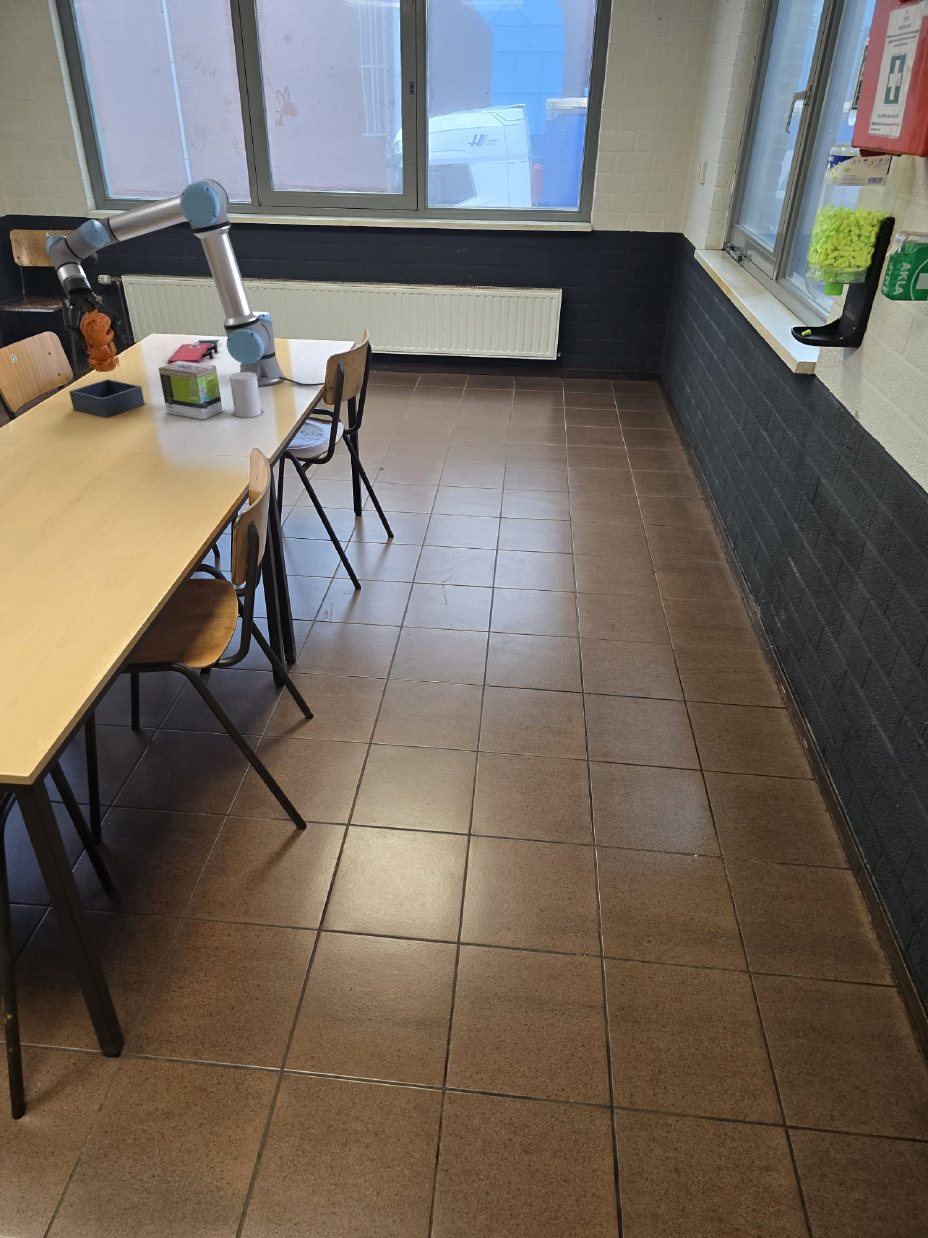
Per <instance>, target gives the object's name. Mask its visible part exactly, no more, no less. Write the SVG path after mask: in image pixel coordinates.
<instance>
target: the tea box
mask: <svg viewBox="0 0 928 1238" xmlns="http://www.w3.org/2000/svg"><path fill="white" fill-rule="evenodd" d="M158 373H159V379H160V383H161V389H162V395H163V399H164V400H163V401H164V406H165V410H166V413H167V414H171V415H177V416H183V417H188V418H193V419H198V420H199V419H200V420H206V419H209V418H211V417H214V416H215V415H218V414H219V413H222V412H223V406H222V396H221V391H220V384H219V378H218V371H217V366H216V365H213V364H207V363H200V362H199V363H192V362H185V361H177V362H174V363H168V364H166V365H162V366H160V367H158Z"/></svg>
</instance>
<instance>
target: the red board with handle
mask: <svg viewBox="0 0 928 1238" xmlns="http://www.w3.org/2000/svg"><path fill="white" fill-rule="evenodd" d="M219 342H220V339H199V340H198V341H195V342H193V343H182V344H181V345H180V346H179V347H178V349H176V351H175V352H174V353H173V354H172V355H171V356H170V357H169V359H168V360H167V363H168V364H171V363H174V362H177V361H185V362H192V363H199V364H200V361H201V360H202V359H203V358H206V357H209V360H213V359H214V355H213V353H214V354H217V353H218V351H219V349H218V343H219ZM212 345H213V346H212Z"/></svg>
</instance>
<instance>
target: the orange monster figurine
mask: <svg viewBox="0 0 928 1238" xmlns="http://www.w3.org/2000/svg"><path fill="white" fill-rule="evenodd" d="M110 323H111V320H110V318H109V317H108V316H106V315H105V314H103V313H98V310H97V309H96V310H94V311H90V312H89V311H85V314H84V315H83V316H82V317H81V321H80V324H79V325H80V326H79V327H80V329H81V332H82V334H83V336H84V338H85V341H86V343H87V345H88V350H87V351H85V352H86V354H88V355H89V357H88V358H87V364H89V368H91V367H92V368H93V369H94V370H95V371H96V372H99V373H107V372H111V371H115V369H116V368H117V367H119V366H120V365H121V364H119V363H120V360H119V357H118V356H116V354H117V349H116V346H115V343H114V342H113V340H114V339H113V338H114V331H113V329H112V328H111V327H110V326H111V325H110ZM108 345H109V346H108Z"/></svg>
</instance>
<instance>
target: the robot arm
mask: <svg viewBox="0 0 928 1238" xmlns="http://www.w3.org/2000/svg"><path fill="white" fill-rule="evenodd" d="M230 202H231V201H230V196H229V192H228V191H227V189H226V188H225V185H223V184H222V183H221V182H220V181H217V180H215V179H213V178H203V179H200V180H197V181H193V182H191V183H190V184H188V185H187V186H186V187H185V188H183V190H182V192H181V193H179V194H176V195H172V196H170V197H167V198H164V199H160V200H157V201H154V202H151V203H148V204H144V205H142V206H139V207H136V208H132V209H129V210H126V211H123V212H119V213H117V214H114V215H111V216H107V217H104V218H100V219H97V220H96V219H89V220H88V221H85V222H83V223H82V224H81V225H80V226H79V227H78V228H77V229H75V230H74V231H72V232H71V233H70V234H69V235H68V236H66V235H63V234H55V235H54V236H49V237H48V238H47V239H46V241H45V248H46V251H47V255H48V258H49V260H50V262H51V263H52V265H53V267H54V269H55V272H56V274H57V276H58V279H59V281H60V283H61V285H62V287H63V290H64V292H65V294H66V297H67V299H63V298H61V299H60V300H59V307H60V308H61V310H62V316H63V325H64V330H65V331H66V332H67V333H68V332H71V333H72V334H73V336H74V338H75V340H76V341H77V342H80V344H81V346H82V348H83V351H84V352H86V351H87V350H88V345H89V344H88V345H87V343H88V342H87V343H86V341H85V338H84V336H83V334H82V332H81V328H80V327H81V326H79V327H78V324H79V318H80V313H83V312H84V313H86V312H93V311H94V310H96V309H97V310H98V313H103V314H105V315H106V316H108V317H109V318H110V320H111V323H110V326H109V327H111V328H112V329H113V331H114V336H113V338H114V339H115V342H116V344H117V346H118V347H121V346H122V339H121V337H120V335H121V330H120V327H119V325H121V322H122V317H121V316H120V315H119V313H118V312H117V311H116V309H115V308H114V307H113V306H112V304H111V303H110V302H109V301H108V298H107V296H106V294H104V293H102V294H100V295H96V294H94V291H93V290H92V288H91V285H90V283H89V281H88V278H87V276H86V274H85V272H84V270H83V268H82V265H81V262H83V261H84V260H85V259H86V258H88V257H89V256H91V255H92V254H93V253H95V252H97V251H98V250H101V249H103V248H105V247H107V246H110V245H115V244H116V243H120V242H122V241H125V240H129V239H131V238H132V239H133V238H135V237H138V236H142V235H145V234H148V233H152V232H154V231H158V230H161V229H164V228H168V227H171V226H174V225H177V224H180V223H184V222H188V223H189V224H190V227H191V231H192V234H193V235H194V236H195V237H197V238H198V239H200V243H201V245H202V249H203V251H204V254H205V257H206V261H207V263H208V267H209V269H210V273H211V276H212V278H213V282H214V284H215V288H216V291H217V294H218V297H219V300H220V304H221V306H222V309H223V312H224V315H225V319H224V321H223V327H224V330H225V333H226V337H227V338H226V349H227V352H228V354H229V355H230V357H231V358H232V359H234V360H235V361H236V362H238V363H240V365H239V372H252V373H255V374H256V376H257V384H258V387H265V386H272V385H276V384H279V383H280V382H281V383H282V381H287V382H290V383H292V384H295V385H298V386H303V387H318V386H325V385H324V384H325V383H326V382H318V383H302V382H299V381H295V380H292V379H289V378H287V377H284V373H283V370H282V369H281V367H280V364H279V361H278V359H277V355H276V348H275V347H276V346H275V337H274V328H273V327H274V326H273V323H274V322H273V319H272V315H271V313H269V312H265V311H253V310H252V306H251V304H250V300H249V298H248V294H247V291H246V287H245V283H244V281H243V278H242V275H241V271H240V267H239V265H238V261H237V258H236V255H235V252H234V248H233V245H232V242H231V239H230V236H229V230H230V229H231V222H230V218H229V215H228V213H227V212H228V211H229V208H230ZM98 302H99V303H98ZM99 304H100V305H102V307H103V308H102V307H101V306H100V305H99ZM69 305H70V306H71V307H73V308H74V315H73V319H72V324H70V318H69V310H68V309H69Z"/></svg>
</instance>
